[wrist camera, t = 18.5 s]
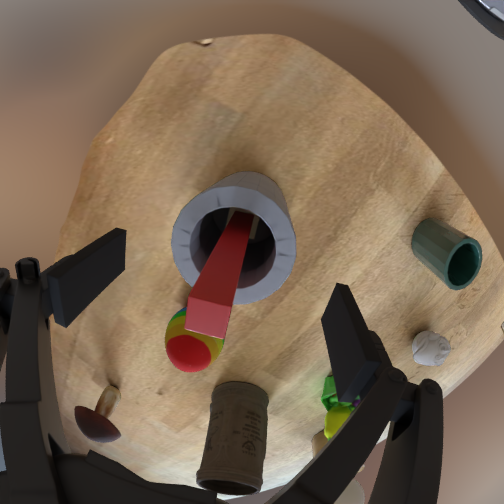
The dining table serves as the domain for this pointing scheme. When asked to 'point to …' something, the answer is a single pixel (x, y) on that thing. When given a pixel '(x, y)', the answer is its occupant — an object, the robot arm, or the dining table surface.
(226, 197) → the vase
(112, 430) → the decorative mushroom
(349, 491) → the lamp
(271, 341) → the dining table surface
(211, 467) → the dark grey hollow cylinder
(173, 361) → the decorative egg
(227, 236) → the paint brush
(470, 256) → the pen pot
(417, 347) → the grey wrinkled ball
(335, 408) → the fruit basket
